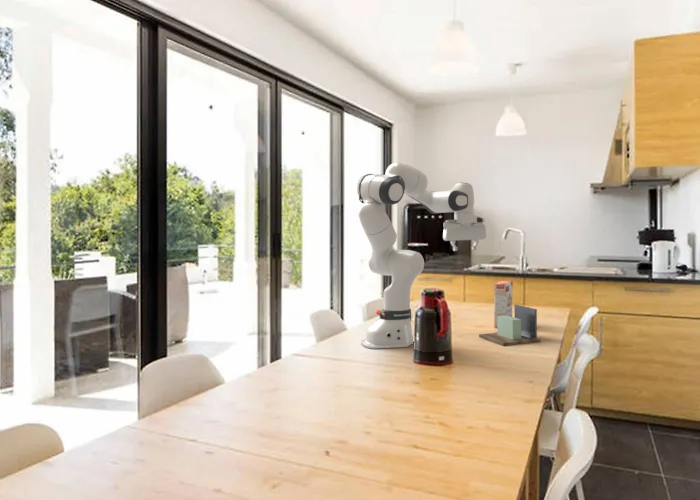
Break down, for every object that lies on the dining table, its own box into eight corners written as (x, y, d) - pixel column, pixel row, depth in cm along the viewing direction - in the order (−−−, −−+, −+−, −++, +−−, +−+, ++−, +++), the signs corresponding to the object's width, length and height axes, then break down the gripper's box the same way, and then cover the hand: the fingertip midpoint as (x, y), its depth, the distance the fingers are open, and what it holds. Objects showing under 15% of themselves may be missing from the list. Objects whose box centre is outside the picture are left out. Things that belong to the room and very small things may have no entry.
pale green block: (512, 339, 214) (512, 320, 213) (497, 334, 224) (497, 315, 224) (521, 338, 215) (520, 319, 215) (505, 333, 225) (505, 315, 225)
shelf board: (503, 346, 208) (503, 343, 208) (479, 337, 225) (479, 334, 225) (541, 341, 214) (541, 338, 214) (514, 333, 231) (514, 330, 231)
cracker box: (507, 328, 241) (506, 283, 240) (493, 327, 244) (493, 283, 243) (513, 323, 253) (513, 280, 252) (500, 322, 256) (500, 280, 255)
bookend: (529, 338, 214) (528, 309, 214) (508, 332, 228) (508, 305, 227) (536, 338, 215) (536, 309, 215) (516, 331, 229) (515, 304, 228)
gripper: (446, 219, 227) (447, 251, 228) (487, 218, 233) (488, 249, 234) (440, 220, 233) (440, 251, 234) (480, 219, 239) (480, 249, 240)
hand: (464, 250), depth 234 cm, fingers open, 8 cm apart
